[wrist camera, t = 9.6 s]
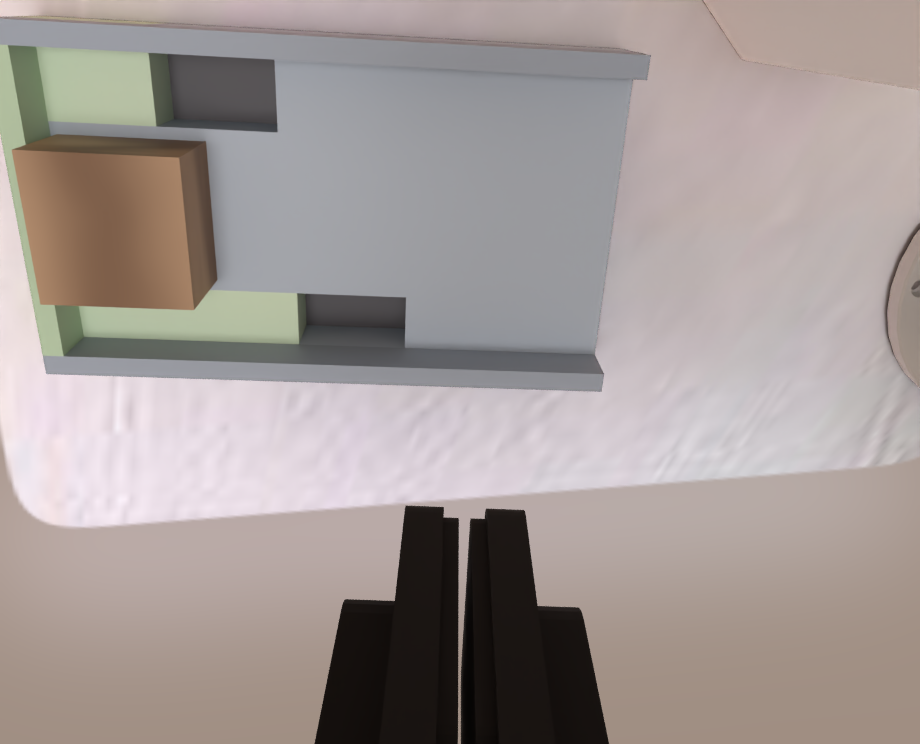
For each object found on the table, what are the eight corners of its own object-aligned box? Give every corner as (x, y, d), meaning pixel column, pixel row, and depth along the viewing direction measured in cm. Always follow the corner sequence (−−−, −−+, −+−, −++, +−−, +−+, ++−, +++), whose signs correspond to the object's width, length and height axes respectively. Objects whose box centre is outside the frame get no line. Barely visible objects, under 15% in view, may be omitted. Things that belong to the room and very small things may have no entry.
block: (206, 141, 29) (179, 157, 26) (217, 280, 32) (194, 310, 29) (56, 134, 29) (11, 149, 26) (79, 274, 31) (40, 304, 28)
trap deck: (621, 48, 31) (650, 55, 27) (582, 348, 36) (601, 391, 32) (40, 15, 30) (-23, 17, 26) (90, 331, 35) (46, 373, 31)
